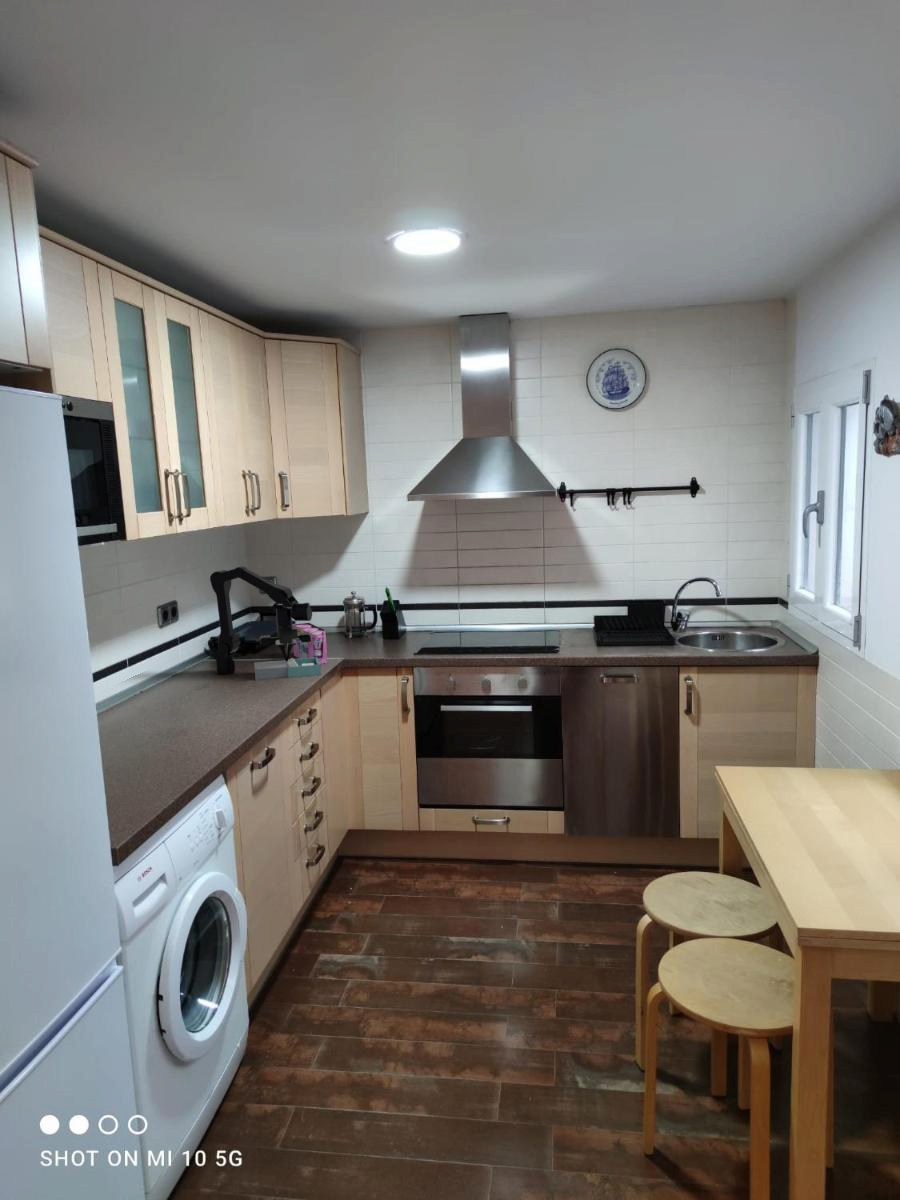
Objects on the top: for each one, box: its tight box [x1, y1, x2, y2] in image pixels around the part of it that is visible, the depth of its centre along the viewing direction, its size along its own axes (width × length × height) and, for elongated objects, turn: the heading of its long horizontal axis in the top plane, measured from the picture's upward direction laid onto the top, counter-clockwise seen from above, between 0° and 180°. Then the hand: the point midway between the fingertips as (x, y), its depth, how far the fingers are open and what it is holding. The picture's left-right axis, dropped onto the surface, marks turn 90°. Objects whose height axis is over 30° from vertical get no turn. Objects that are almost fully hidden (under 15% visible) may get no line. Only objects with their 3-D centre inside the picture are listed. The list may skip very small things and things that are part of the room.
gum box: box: [292, 622, 328, 665], centre depth 322 cm, size 24×8×14 cm, turn 27°
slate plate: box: [254, 659, 288, 681], centre depth 297 cm, size 12×12×4 cm
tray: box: [286, 657, 322, 679], centre depth 300 cm, size 12×14×4 cm
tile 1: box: [287, 657, 298, 667], centre depth 299 cm, size 4×4×2 cm
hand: (286, 661), depth 298 cm, fingers closed
